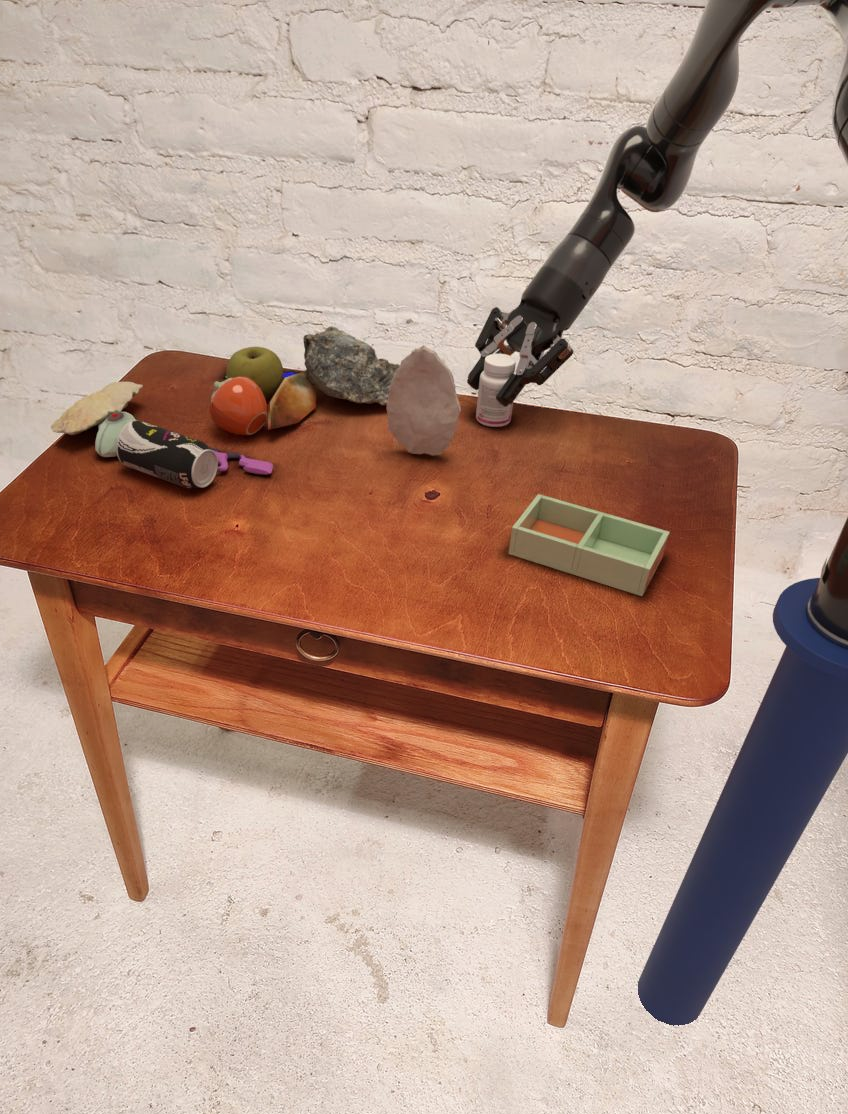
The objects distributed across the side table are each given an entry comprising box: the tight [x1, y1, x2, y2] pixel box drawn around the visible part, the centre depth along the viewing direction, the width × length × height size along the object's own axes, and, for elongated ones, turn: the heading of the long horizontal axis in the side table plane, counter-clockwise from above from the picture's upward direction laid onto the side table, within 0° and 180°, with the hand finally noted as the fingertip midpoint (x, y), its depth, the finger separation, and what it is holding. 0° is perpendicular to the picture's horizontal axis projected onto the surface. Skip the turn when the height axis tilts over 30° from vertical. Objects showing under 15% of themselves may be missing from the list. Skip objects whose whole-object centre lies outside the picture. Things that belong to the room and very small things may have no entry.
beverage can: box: [116, 419, 219, 490], centre depth 104 cm, size 6×6×12 cm
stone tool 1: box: [50, 381, 144, 436], centre depth 114 cm, size 8×4×15 cm
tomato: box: [209, 376, 268, 436], centre depth 113 cm, size 7×7×8 cm
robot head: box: [94, 411, 136, 458], centre depth 109 cm, size 8×4×7 cm
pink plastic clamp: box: [208, 446, 274, 476], centre depth 109 cm, size 21×1×5 cm
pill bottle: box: [475, 353, 517, 428], centre depth 115 cm, size 5×5×8 cm
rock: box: [302, 326, 400, 406], centre depth 119 cm, size 14×10×10 cm
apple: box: [225, 346, 284, 405], centre depth 118 cm, size 8×8×7 cm
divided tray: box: [507, 493, 671, 597], centre depth 94 cm, size 15×8×4 cm, turn 61°
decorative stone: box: [267, 370, 317, 431], centre depth 116 cm, size 14×6×3 cm
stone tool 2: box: [386, 344, 462, 457], centre depth 105 cm, size 9×3×15 cm, turn 80°
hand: (486, 394), depth 115 cm, fingers open, 5 cm apart
